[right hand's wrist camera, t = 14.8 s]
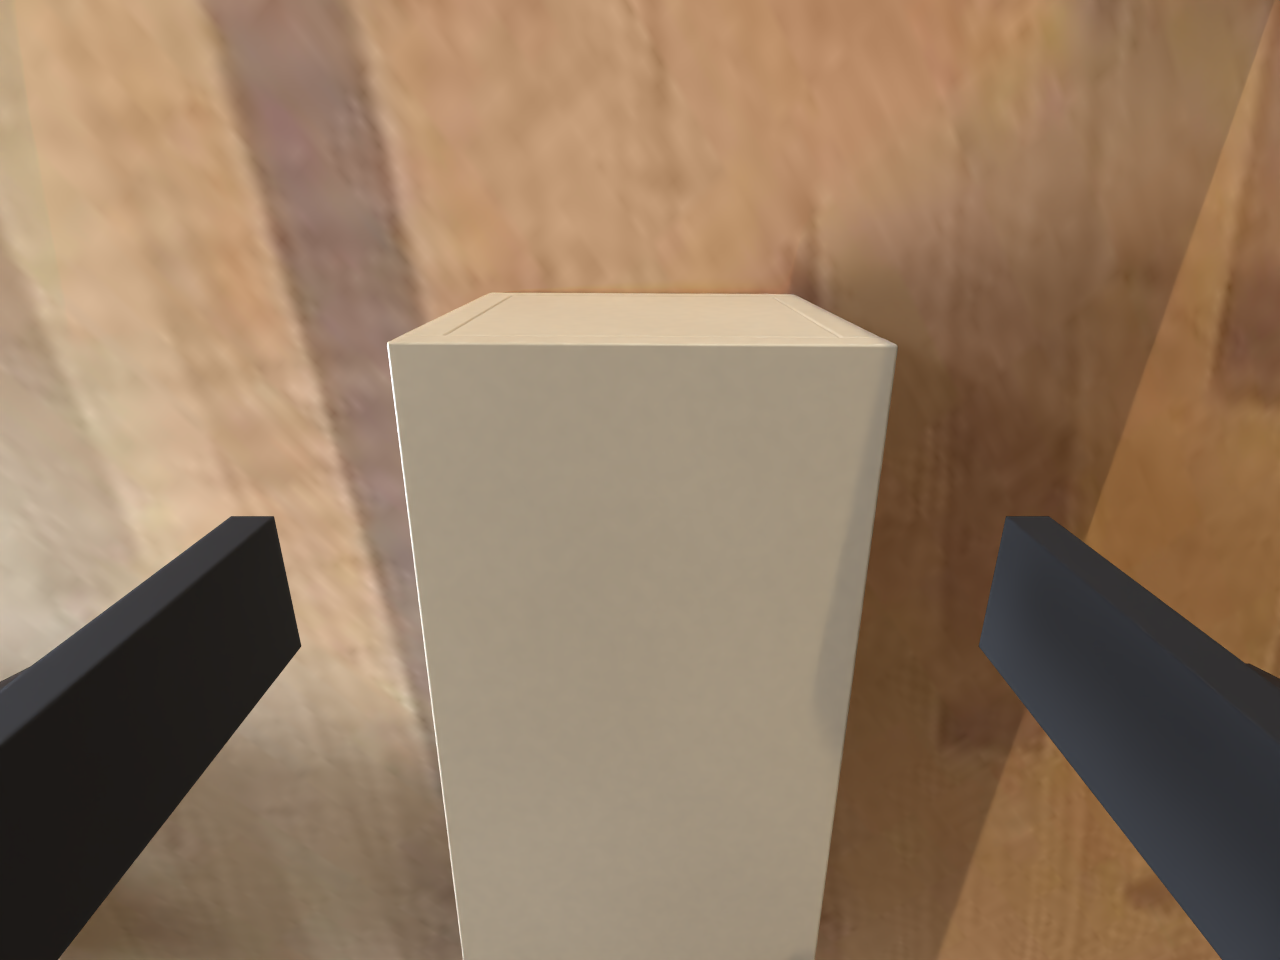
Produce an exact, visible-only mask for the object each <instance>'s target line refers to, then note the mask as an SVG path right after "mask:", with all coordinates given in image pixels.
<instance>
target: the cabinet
mask: <svg viewBox="0 0 1280 960" xmlns="http://www.w3.org/2000/svg"><path fill="white" fill-rule="evenodd" d="M387 347H388V355H389V363H390V372H391V380H392V388H393V396H394V404H395V412H396V420H397V428H398V436H399V444H400V453H401V461H402V469H403V477H404V485H405V493H406V501H407V509H408V517H409V526H410V534H411V542H412V550H413V558H414V566H415V574H416V582H417V590H418V599H419V607H420V615H421V623H422V631H423V639H424V647H425V655H426V663H427V672H428V680H429V688H430V696H431V704H432V712H433V720H434V728H435V736H436V745H437V753H438V761H439V769H440V777H441V785H442V793H443V801H444V809H445V817H446V826H447V834H448V842H449V850H450V858H451V866H452V874H453V882H454V890H455V899H456V907H457V915H458V923H459V931H460V939H461V947H462V955H463V960H815V955H816V947H817V940H818V932H819V925H820V918H821V910H822V903H823V896H824V888H825V881H826V873H827V866H828V859H829V851H830V844H831V837H832V829H833V822H834V815H835V807H836V800H837V792H838V785H839V778H840V770H841V763H842V756H843V748H844V741H845V733H846V726H847V719H848V711H849V704H850V697H851V689H852V682H853V674H854V667H855V660H856V652H857V645H858V638H859V630H860V623H861V616H862V608H863V601H864V593H865V586H866V579H867V571H868V564H869V557H870V549H871V542H872V534H873V527H874V520H875V512H876V505H877V498H878V490H879V483H880V476H881V468H882V461H883V453H884V446H885V439H886V431H887V424H888V417H889V409H890V402H891V394H892V387H893V380H894V372H895V365H896V358H897V350H898V346H897V345H896V344H894V343H892V342H890V341H888V340H886V339H884V338H881V337H879V336H877V335H875V334H873V333H871V332H869V331H867V330H865V329H863V328H861V327H859V326H857V325H855V324H853V323H851V322H849V321H847V320H845V319H843V318H841V317H838V316H836V315H834V314H832V313H830V312H828V311H826V310H824V309H822V308H820V307H818V306H816V305H814V304H812V303H810V302H808V301H806V300H804V299H802V298H800V297H799V296H796V295H794V294H655V293H489V294H487V295H484V296H482V297H480V298H478V299H476V300H474V301H472V302H470V303H468V304H466V305H464V306H462V307H459V308H457V309H455V310H453V311H451V312H449V313H447V314H445V315H443V316H441V317H439V318H437V319H435V320H433V321H431V322H429V323H426V324H424V325H422V326H420V327H418V328H416V329H414V330H412V331H410V332H408V333H406V334H404V335H402V336H400V337H398V338H396V339H394V340H392V341H390V342H388V344H387Z"/></svg>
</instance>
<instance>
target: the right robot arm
mask: <svg viewBox="0 0 1280 960" xmlns="http://www.w3.org/2000/svg"><path fill="white" fill-rule="evenodd" d="M300 647H301V643H300V638H299V633H298V629H297V624H296V619H295V614H294V610H293V605H292V600H291V595H290V591H289V586H288V581H287V576H286V572H285V567H284V562H283V557H282V553H281V548H280V543H279V538H278V534H277V529H276V524H275V519H274V516H231V517H230V518H228V519H227V520H226V521H224V522H223V523H222V524H220V525H219V526H218V527H216V528H215V529H214V530H212V531H211V532H210V533H208V534H207V535H206V536H204V537H203V538H202V539H200V540H199V541H198V542H196V543H195V544H194V545H192V546H191V547H190V548H188V549H187V550H186V551H184V552H183V553H182V554H180V555H179V556H178V557H176V558H175V559H174V560H172V561H171V562H170V563H168V564H167V565H166V566H164V567H163V568H162V569H160V570H159V571H158V572H156V573H155V574H154V575H152V576H151V577H150V578H148V579H147V580H146V581H144V582H143V583H142V584H140V585H139V586H138V587H136V588H135V589H134V590H132V591H131V592H130V593H128V594H127V595H126V596H124V597H123V598H122V599H120V600H119V601H118V602H116V603H115V604H114V605H112V606H111V607H110V608H108V609H107V610H106V611H104V612H103V613H102V614H100V615H99V616H98V617H96V618H95V619H94V620H92V621H91V622H90V623H88V624H87V625H86V626H84V627H83V628H82V629H80V630H79V631H78V632H76V633H75V634H74V635H72V636H71V637H70V638H68V639H67V640H66V641H64V642H63V643H62V644H60V645H59V646H58V647H56V648H55V649H54V650H52V651H51V652H50V653H48V654H47V655H46V656H44V657H43V658H42V659H40V660H39V661H38V662H36V663H35V664H34V665H32V666H31V667H29V668H27V669H25V670H23V671H21V672H19V673H17V674H15V675H13V676H11V677H9V678H7V679H5V680H3V681H1V682H0V960H58V959H59V958H60V956H61V955H62V954H63V952H64V951H65V950H66V949H67V947H68V946H69V945H70V943H71V942H72V941H73V939H74V938H75V937H76V936H77V934H78V933H79V932H80V930H81V929H82V928H83V927H84V925H85V924H86V923H87V921H88V920H89V919H90V918H91V916H92V915H93V914H94V912H95V911H96V910H97V909H98V907H99V906H100V905H101V903H102V902H103V901H104V900H105V898H106V897H107V896H108V894H109V893H110V892H111V891H112V889H113V888H114V887H115V885H116V884H117V883H118V882H119V880H120V879H121V878H122V876H123V875H124V874H125V873H126V871H127V870H128V869H129V867H130V866H131V865H132V864H133V862H134V861H135V860H136V858H137V857H138V856H139V855H140V853H141V852H142V851H143V849H144V848H145V847H146V846H147V844H148V843H149V842H150V840H151V839H152V838H153V836H154V835H155V834H156V833H157V831H158V830H159V829H160V827H161V826H162V825H163V824H164V822H165V821H166V820H167V818H168V817H169V816H170V815H171V813H172V812H173V811H174V809H175V808H176V807H177V806H178V804H179V803H180V802H181V800H182V799H183V798H184V797H185V795H186V794H187V793H188V791H189V790H190V789H191V788H192V786H193V785H194V784H195V782H196V781H197V780H198V779H199V777H200V776H201V775H202V773H203V772H204V771H205V770H206V768H207V767H208V766H209V764H210V763H211V762H212V761H213V759H214V758H215V757H216V755H217V754H218V753H219V752H220V750H221V749H222V748H223V746H224V745H225V744H226V743H227V741H228V740H229V739H230V737H231V736H232V735H233V733H234V732H235V731H236V730H237V728H238V727H239V726H240V724H241V723H242V722H243V721H244V719H245V718H246V717H247V715H248V714H249V713H250V712H251V710H252V709H253V708H254V706H255V705H256V704H257V703H258V701H259V700H260V699H261V697H262V696H263V695H264V694H265V692H266V691H267V690H268V688H269V687H270V686H271V685H272V683H273V682H274V681H275V679H276V678H277V677H278V676H279V674H280V673H281V672H282V670H283V669H284V668H285V667H286V665H287V664H288V663H289V661H290V660H291V659H292V658H293V656H294V655H295V654H296V652H297V651H298V650H299V649H300ZM979 647H980V649H981V650H982V651H983V652H984V654H985V655H986V656H987V658H988V659H989V660H990V661H991V663H992V664H993V665H994V667H995V668H996V669H997V670H998V672H999V673H1000V674H1001V676H1002V677H1003V678H1004V679H1005V681H1006V682H1007V683H1008V685H1009V686H1010V687H1011V688H1012V690H1013V691H1014V692H1015V694H1016V695H1017V696H1018V697H1019V699H1020V700H1021V701H1022V703H1023V704H1024V705H1025V706H1026V708H1027V709H1028V710H1029V712H1030V713H1031V714H1032V715H1033V717H1034V718H1035V719H1036V721H1037V722H1038V723H1039V724H1040V726H1041V727H1042V728H1043V730H1044V731H1045V732H1046V733H1047V735H1048V736H1049V737H1050V739H1051V740H1052V741H1053V743H1054V744H1055V745H1056V746H1057V748H1058V749H1059V750H1060V752H1061V753H1062V754H1063V755H1064V757H1065V758H1066V759H1067V761H1068V762H1069V763H1070V764H1071V766H1072V767H1073V768H1074V770H1075V771H1076V772H1077V773H1078V775H1079V776H1080V777H1081V779H1082V780H1083V781H1084V782H1085V784H1086V785H1087V786H1088V788H1089V789H1090V790H1091V791H1092V793H1093V794H1094V795H1095V797H1096V798H1097V799H1098V800H1099V802H1100V803H1101V804H1102V806H1103V807H1104V808H1105V809H1106V811H1107V812H1108V813H1109V815H1110V816H1111V817H1112V818H1113V820H1114V821H1115V822H1116V824H1117V825H1118V826H1119V827H1120V829H1121V830H1122V831H1123V833H1124V834H1125V835H1126V836H1127V838H1128V839H1129V840H1130V842H1131V843H1132V844H1133V846H1134V847H1135V848H1136V849H1137V851H1138V852H1139V853H1140V855H1141V856H1142V857H1143V858H1144V860H1145V861H1146V862H1147V864H1148V865H1149V866H1150V867H1151V869H1152V870H1153V871H1154V873H1155V874H1156V875H1157V876H1158V878H1159V879H1160V880H1161V882H1162V883H1163V884H1164V885H1165V887H1166V888H1167V889H1168V891H1169V892H1170V893H1171V894H1172V896H1173V897H1174V898H1175V900H1176V901H1177V902H1178V903H1179V905H1180V906H1181V907H1182V909H1183V910H1184V911H1185V912H1186V914H1187V915H1188V916H1189V918H1190V919H1191V920H1192V921H1193V923H1194V924H1195V925H1196V927H1197V928H1198V929H1199V930H1200V932H1201V933H1202V934H1203V936H1204V937H1205V938H1206V940H1207V941H1208V942H1209V943H1210V945H1211V946H1212V947H1213V949H1214V950H1215V951H1216V952H1217V954H1218V955H1219V956H1220V958H1221V959H1222V960H1280V679H1279V678H1277V677H1275V676H1273V675H1271V674H1269V673H1267V672H1265V671H1263V670H1261V669H1259V668H1257V667H1255V666H1253V665H1251V664H1245V663H1244V662H1242V661H1241V660H1240V659H1238V658H1237V657H1236V656H1234V655H1233V654H1232V653H1230V652H1229V651H1228V650H1226V649H1225V648H1224V647H1222V646H1221V645H1220V644H1218V643H1217V642H1216V641H1214V640H1213V639H1212V638H1210V637H1209V636H1208V635H1206V634H1205V633H1204V632H1202V631H1201V630H1200V629H1198V628H1197V627H1196V626H1194V625H1193V624H1192V623H1190V622H1189V621H1188V620H1186V619H1185V618H1184V617H1182V616H1181V615H1180V614H1178V613H1177V612H1176V611H1174V610H1173V609H1172V608H1170V607H1169V606H1168V605H1166V604H1165V603H1164V602H1162V601H1161V600H1160V599H1158V598H1157V597H1156V596H1154V595H1153V594H1152V593H1150V592H1149V591H1148V590H1146V589H1145V588H1144V587H1142V586H1141V585H1140V584H1138V583H1137V582H1136V581H1134V580H1133V579H1132V578H1130V577H1129V576H1128V575H1126V574H1125V573H1124V572H1122V571H1121V570H1120V569H1118V568H1117V567H1116V566H1114V565H1113V564H1112V563H1110V562H1109V561H1108V560H1106V559H1105V558H1104V557H1102V556H1101V555H1100V554H1098V553H1097V552H1096V551H1094V550H1093V549H1092V548H1090V547H1089V546H1088V545H1086V544H1085V543H1084V542H1082V541H1081V540H1080V539H1078V538H1077V537H1076V536H1074V535H1073V534H1072V533H1070V532H1069V531H1068V530H1066V529H1065V528H1064V527H1062V526H1061V525H1060V524H1058V523H1057V522H1056V521H1054V520H1053V519H1052V518H1050V517H1049V516H1006V519H1005V524H1004V529H1003V533H1002V538H1001V543H1000V548H999V553H998V557H997V562H996V567H995V572H994V576H993V581H992V586H991V591H990V595H989V600H988V605H987V610H986V614H985V619H984V624H983V629H982V633H981V638H980V643H979Z"/></svg>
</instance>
